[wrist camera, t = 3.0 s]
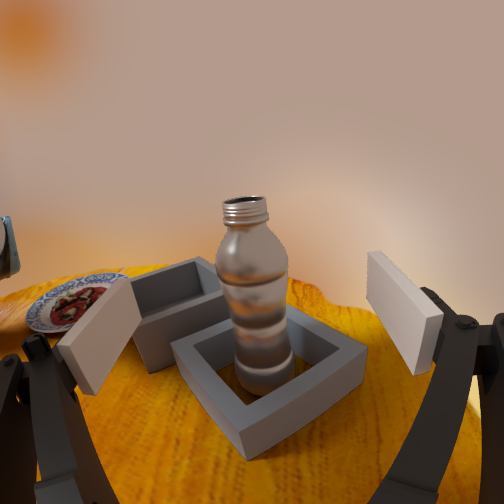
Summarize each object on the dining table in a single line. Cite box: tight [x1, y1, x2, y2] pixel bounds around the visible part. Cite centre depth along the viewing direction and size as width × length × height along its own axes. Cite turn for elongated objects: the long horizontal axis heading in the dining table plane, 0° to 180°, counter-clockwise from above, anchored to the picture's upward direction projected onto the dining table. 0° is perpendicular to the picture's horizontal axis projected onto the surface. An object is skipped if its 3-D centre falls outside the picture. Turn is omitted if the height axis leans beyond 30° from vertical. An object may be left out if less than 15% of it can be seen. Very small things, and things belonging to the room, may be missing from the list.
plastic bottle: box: [215, 196, 296, 396], centre depth 27 cm, size 6×7×20 cm
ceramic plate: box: [26, 273, 131, 333], centre depth 52 cm, size 26×26×3 cm
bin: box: [130, 257, 230, 374], centre depth 42 cm, size 16×16×7 cm
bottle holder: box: [170, 304, 368, 461], centre depth 30 cm, size 15×15×5 cm
